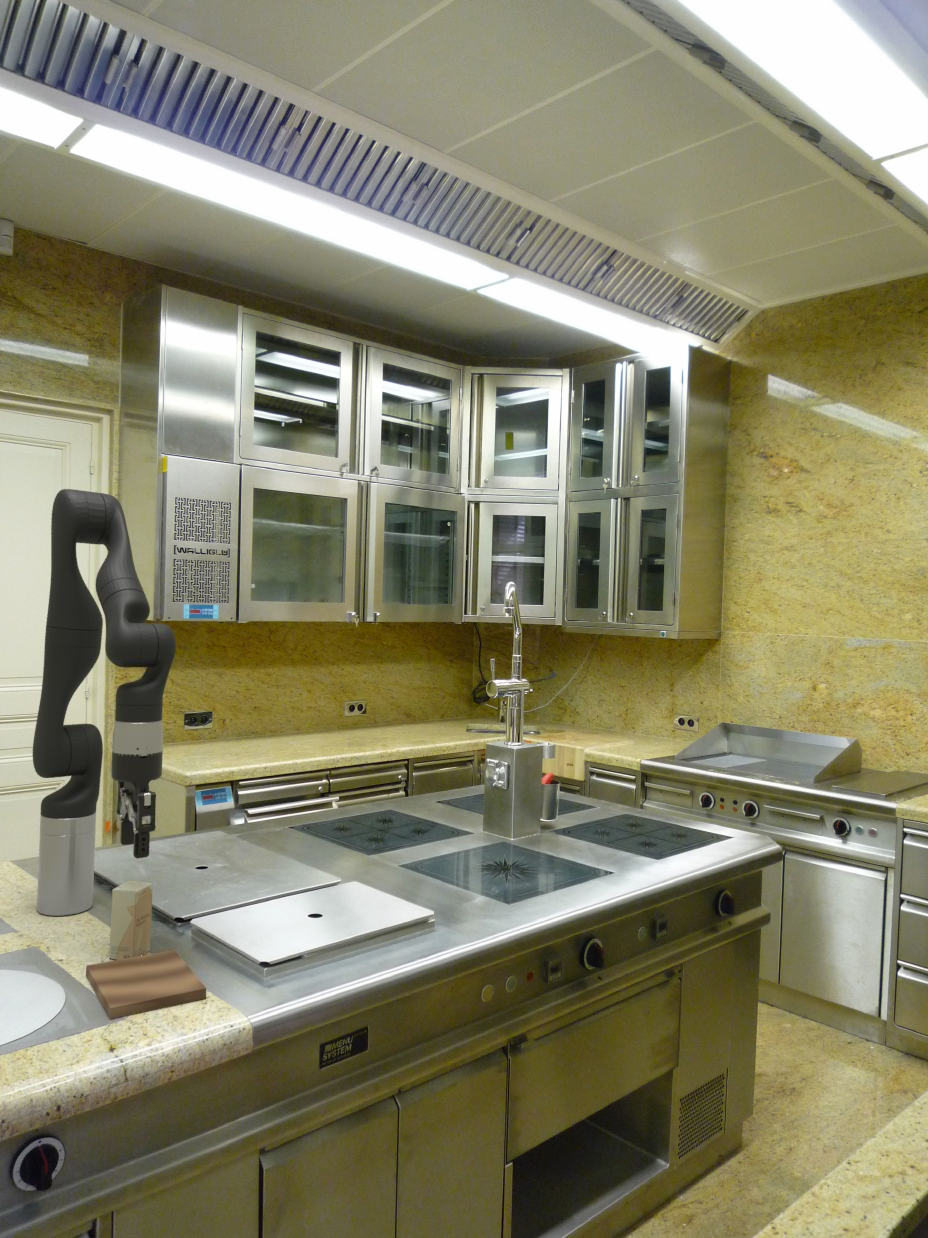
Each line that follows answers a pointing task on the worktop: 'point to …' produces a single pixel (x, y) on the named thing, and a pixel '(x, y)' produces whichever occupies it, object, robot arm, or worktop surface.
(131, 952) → the box
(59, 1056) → the worktop surface
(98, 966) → the board
